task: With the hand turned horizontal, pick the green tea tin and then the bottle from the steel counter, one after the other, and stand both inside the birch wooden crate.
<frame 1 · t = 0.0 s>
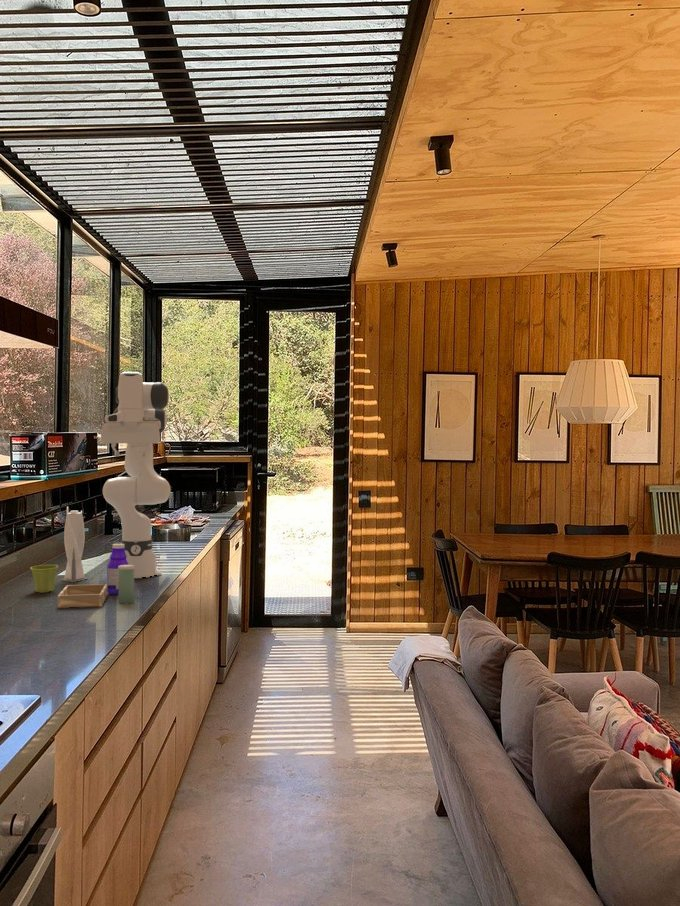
hand: (130, 456, 277), 48 cm above the countertop, tool pointing down, fingers open, 8 cm apart
crate: (83, 601, 261), on the countertop
bottle: (118, 594, 275), on the countertop
skyscraper: (73, 580, 300), on the countertop
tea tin: (126, 602, 261), on the countertop
plant pot: (44, 591, 278), on the countertop
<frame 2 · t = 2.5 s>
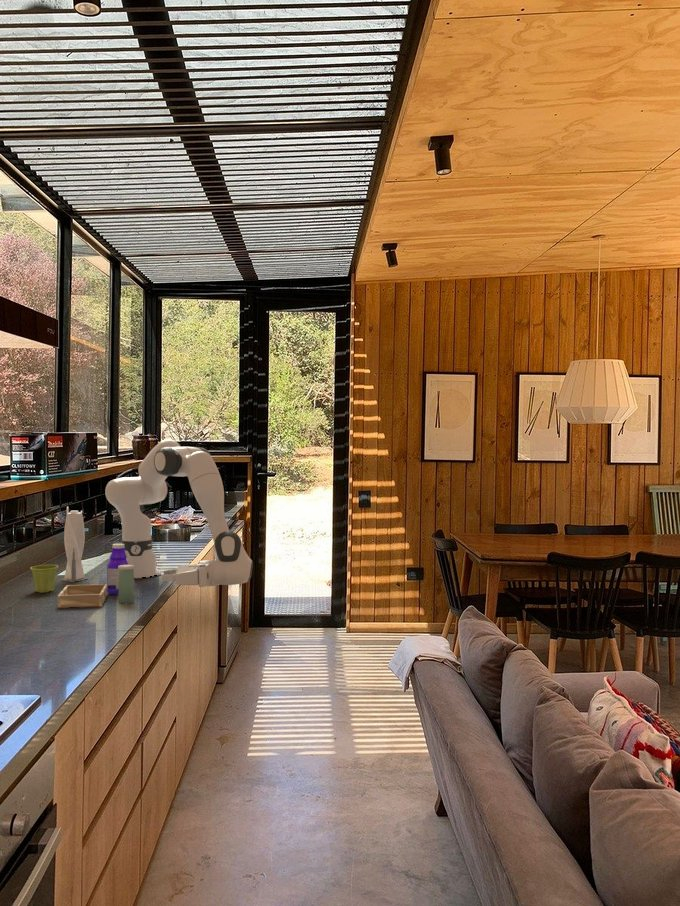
hand: (162, 575, 262), 9 cm above the countertop, tool horizontal, fingers open, 8 cm apart
nothing on the countertop moved.
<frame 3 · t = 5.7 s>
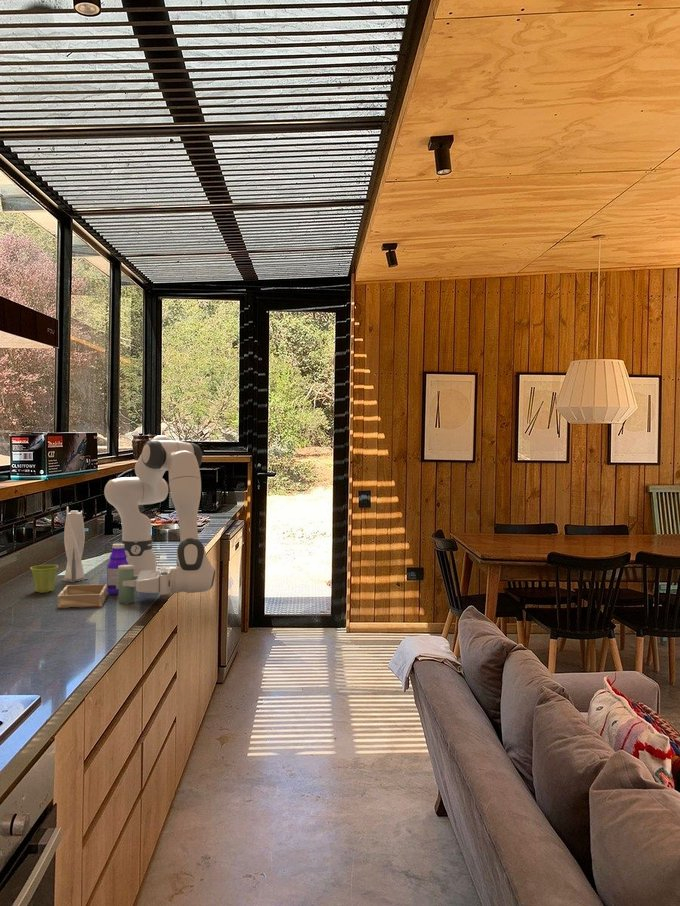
hand: (123, 581, 260), 7 cm above the countertop, tool horizontal, fingers closed on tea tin, 5 cm apart
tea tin: (126, 602, 261), on the countertop, touching gripper
everything else where it was.
when the fingers open (9 cm above the countertop, at t = 10.8 s): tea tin drops 1 cm, resting on crate.
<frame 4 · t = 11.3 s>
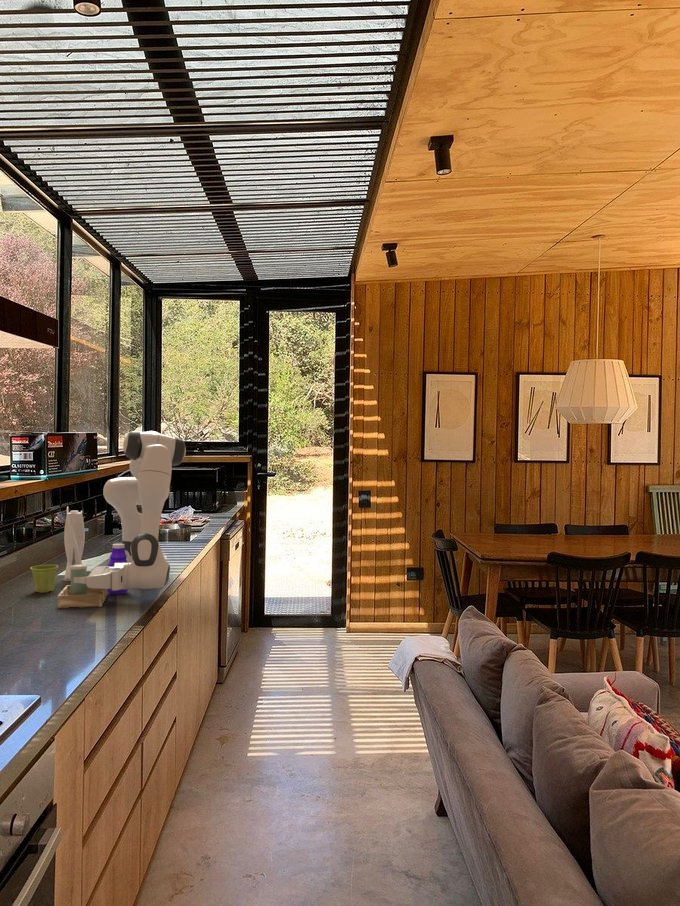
hand: (75, 577, 256), 9 cm above the countertop, tool horizontal, fingers open, 8 cm apart
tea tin: (78, 602, 257), point 1 cm above the countertop, touching crate
everything else where it was.
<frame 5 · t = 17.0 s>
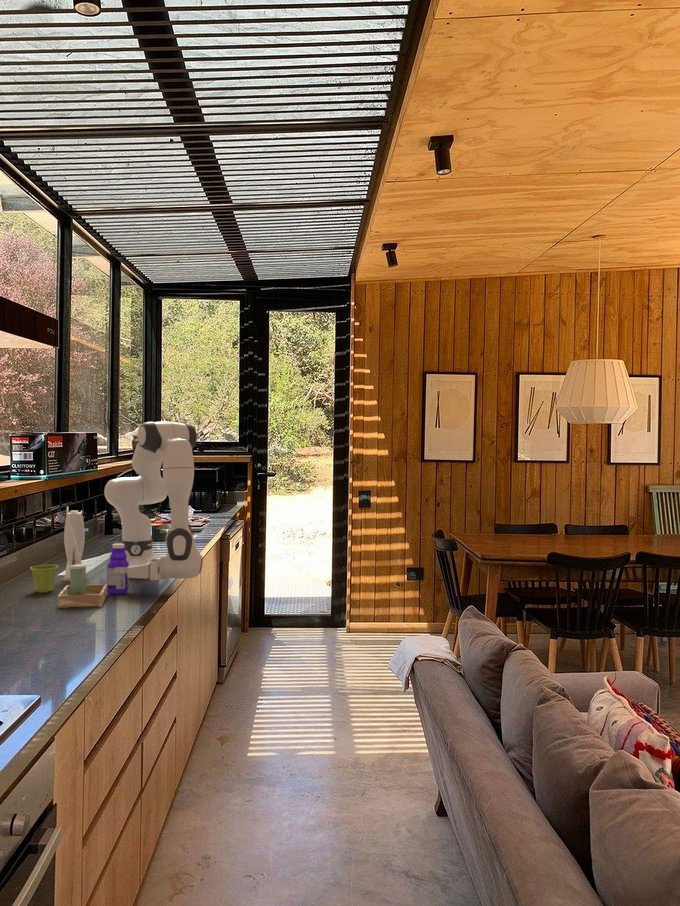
hand: (115, 567, 274), 9 cm above the countertop, tool horizontal, fingers closed on bottle, 6 cm apart
bottle: (118, 594, 275), on the countertop, touching gripper
everything else where it was.
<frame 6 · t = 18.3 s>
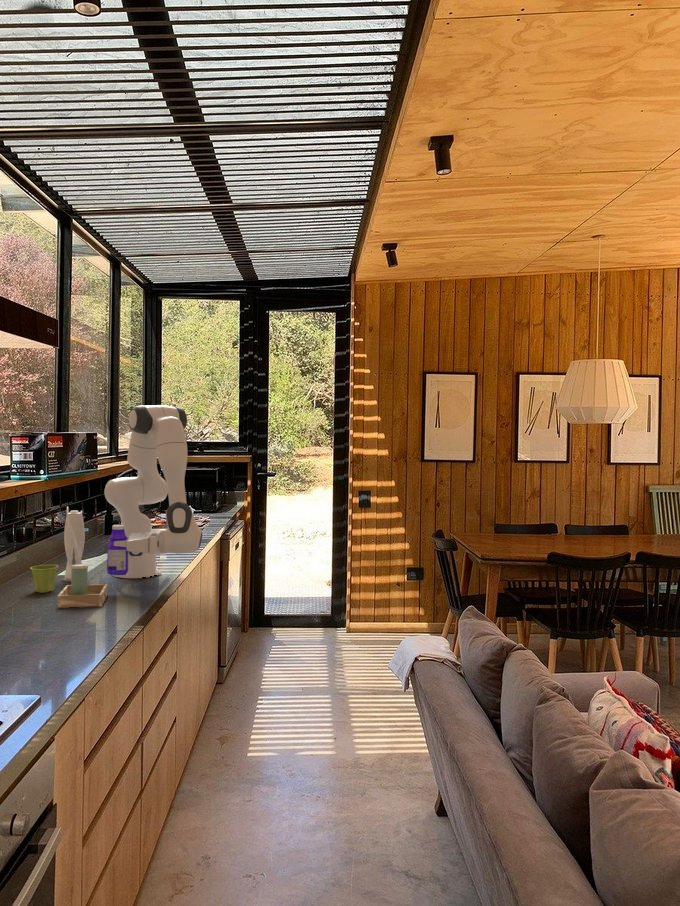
hand: (115, 541, 274), 18 cm above the countertop, tool horizontal, fingers closed on bottle, 5 cm apart
bottle: (118, 575, 275), point 6 cm above the countertop, touching gripper
everything else where it was.
when the fingers open (11 cm above the countertop, at t = 22.3 s): bottle stays where it is, resting on crate.
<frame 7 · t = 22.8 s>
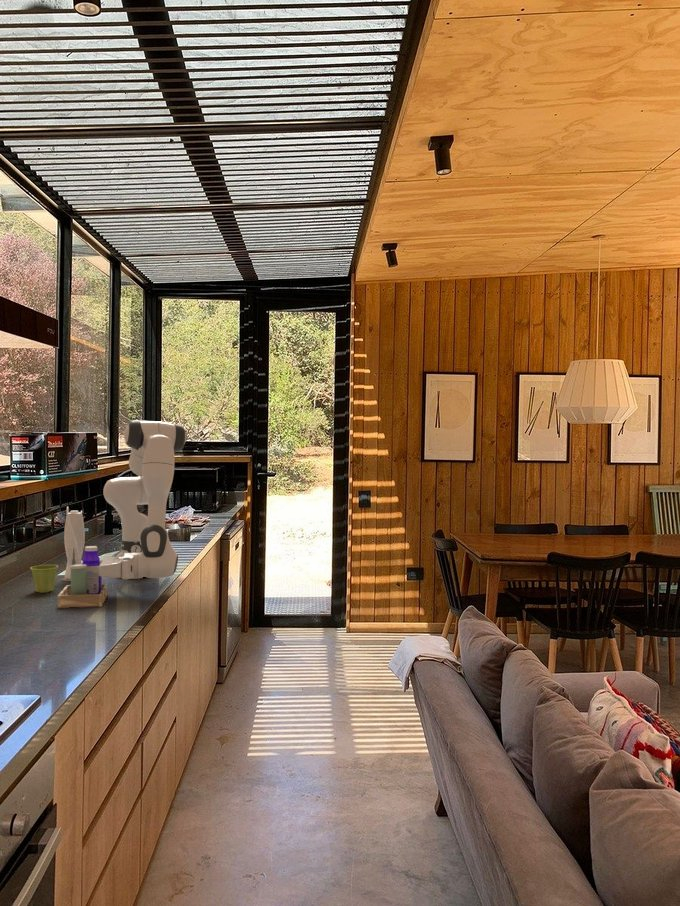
hand: (87, 566, 265), 11 cm above the countertop, tool horizontal, fingers open, 8 cm apart
bottle: (90, 598, 264), resting on crate
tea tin: (79, 602, 257), point 1 cm above the countertop, touching crate, gripper
everything else where it was.
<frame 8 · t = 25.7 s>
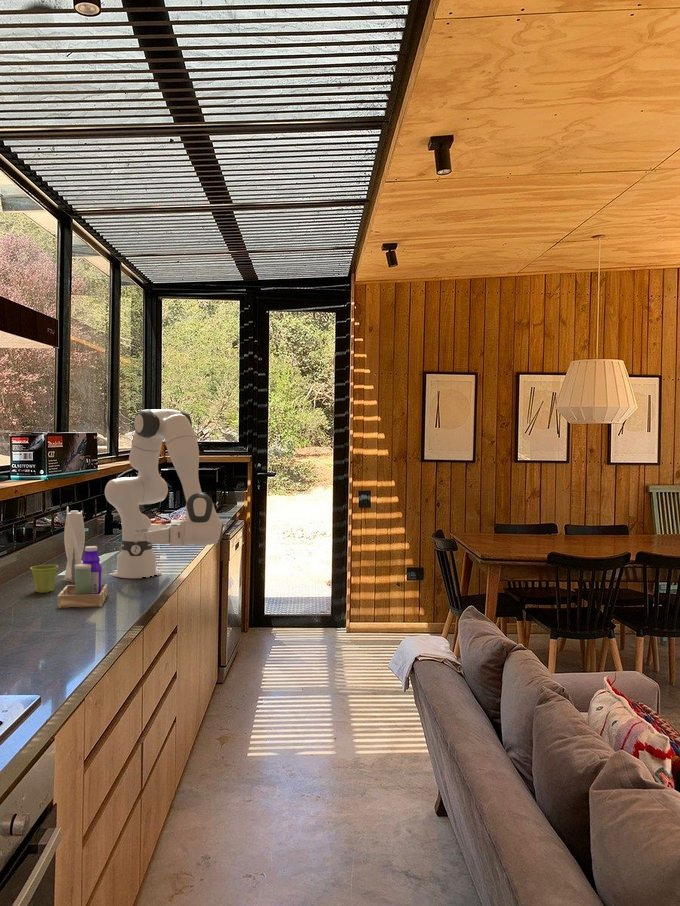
hand: (134, 533, 267), 22 cm above the countertop, tool horizontal, fingers open, 8 cm apart
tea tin: (82, 601, 258), point 1 cm above the countertop, touching crate
everything else where it was.
at the end: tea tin inside the target area on the crate (2.9 cm from its centre), point 0.6 cm above the crate's base; bottle inside the target area on the crate (3.6 cm from its centre), point 0.3 cm above the crate's base; bottle tilted 0° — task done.
